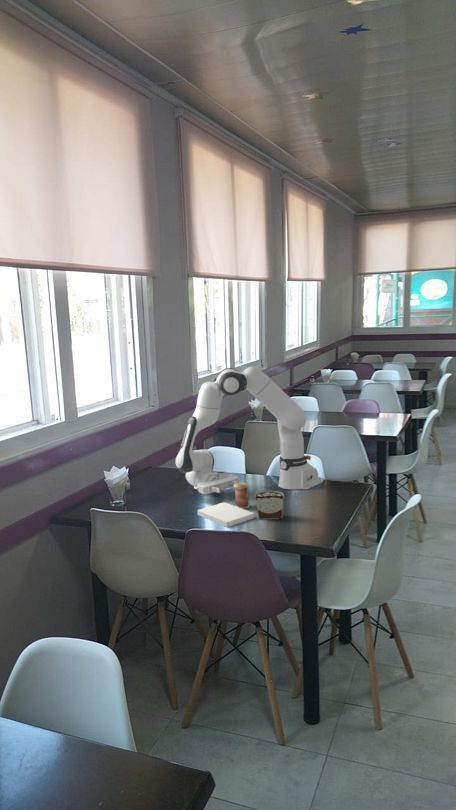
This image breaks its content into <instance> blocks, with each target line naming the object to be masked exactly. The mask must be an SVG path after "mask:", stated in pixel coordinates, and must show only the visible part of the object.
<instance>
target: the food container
mask: <svg viewBox="0 0 456 810" xmlns="http://www.w3.org/2000/svg"><path fill="white" fill-rule="evenodd" d="M253 500H254V501H255V503H256V509H257V510H256V511H257V517H258V519H259V520H270V519H271V520H280V519H279V518H282V519H283V514H284V500H286V497H285V494H284V493H283V492H281V491H279V490H262V491H259V492H257V493H255V494H254V499H253Z"/></svg>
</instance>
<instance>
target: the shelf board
mask: <svg viewBox="0 0 456 810" xmlns="http://www.w3.org/2000/svg"><path fill="white" fill-rule="evenodd" d="M197 515H198V516H200V517H202V518H204V519H206V520H209V521H212V522H214V523H216V524H218V525H221V526H223V527H225V528H230V527H232V526H235V525H238V524H241V523H244V522H247V521H250V520H252V519H255V512H252V511H249V510H248V509H241V508H239V507H236V506H235V505H234V504H231V503H228V502H225V501H223V502H220V503H216V504H214V505H211V506H207V507H204V508H199V509H197Z"/></svg>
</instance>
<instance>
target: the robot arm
mask: <svg viewBox="0 0 456 810" xmlns="http://www.w3.org/2000/svg"><path fill="white" fill-rule="evenodd" d="M245 390H246V391H248V392H249V393H250V394H251V395H252V396H253V397H254V398H255V399H256V400H257V401H258V402H259V403H260V404H261V405H262V406H264V408H266V409H265V410H268V411H269V413H271V414H272V415H273V416H274V417H275V419H276V421H277V422H276V423H277V428H278V429H277V430H278V436H279V446H280V447H279V452H280V456H279V465H280V468H279V469H280V471H279V478H278V479H279V480H278V487H279V488H280V489H285V490H309V489H312V488H313V487H316V486H318V485H320V484H323V483H324V482H325V481H324V479H323V478H322V477H319V471H318V469H317V468H316V467H314V466H313V465H312V464H310V463H309V462H308V460H309V461H310V460H311V459H312V456H311V455H305V443H304V442H305V441H304V436H303V431H302V428H304V426H305V425H306V422H307V415H306V413H305V411H304V409H302V407H300V406H299V404H298V403H296V402H295V401H294V400H293V399H292V398H291V397H290V396H289V395H288V394H287V393H285V391H283V390H282V388H280V387H279V386H278V385H277V384H276V383H275V382H274V380H273V379H272V378H270V377H269V375H267V374H266V373H264V372H263V371H262V370H260V369H259V368H258V367H256V366H253V365H252V366H248V367H246V368H245V369H244V370H243V371H238V370H237V369H235V368H232V367H226V368H224V369H222V370H221V371H220V372H219V373H218V374H217V376H216V377H215V378H214V380H213V381H207V382H204V383H202V384H201V386H200V388H199V392H198V394H197V400H196V407H195V410H194V412H193V414H192V415H191V416H190V417H189V418H188V420H187V422H186V424H185V428H184V432H183V436H182V440H181V442H180V447H179V449H178V452H177V453H176V456H175V462H174V464H175V466H176V469H177V470H179V472H181V473H182V474H185V479H186V481H187V482H188V483H189V484H190V485H191V486H193V489H195V490H197V492H198V493H200V494H202V495H209V494H212V493H218V494H219V493H222V491H223V490H226V489H229V488H233V487H234V484H235V483H239V482H240V478H239V476H237V475H235V474H231V473H228V472H227V471H213V470H214V466H215V458H214V455H213V453H212V452H211V450H209V449H206V448H205V449H196V450H193V448H194V447H193V446H194V443H195V440H196V436H197V435H198V433H200V431H203V430H204V429H206V428H208V427H210V426H212V425H213V424H215V423H216V422H217V421H218V419H219V416H220V414H221V406H222V400H223V397H224V396H225V395H226V396H235V395H237V394H239V393H241V392H242V391H245ZM323 481H324V482H323Z"/></svg>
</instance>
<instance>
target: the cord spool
mask: <svg viewBox="0 0 456 810" xmlns="http://www.w3.org/2000/svg"><path fill="white" fill-rule="evenodd" d="M233 487H234V493H235V504H234V506H236V507H239V508H241V509H244V510H248V509H250V503H249V490H248V489H249V483H248V482H243V481H239V483H235V484H234V486H233ZM247 508H248V509H247Z"/></svg>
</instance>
